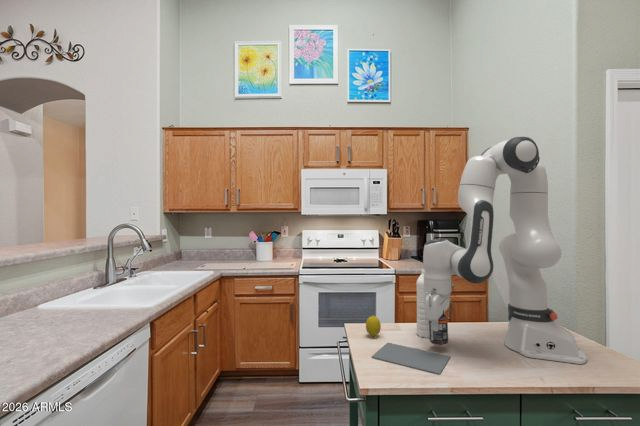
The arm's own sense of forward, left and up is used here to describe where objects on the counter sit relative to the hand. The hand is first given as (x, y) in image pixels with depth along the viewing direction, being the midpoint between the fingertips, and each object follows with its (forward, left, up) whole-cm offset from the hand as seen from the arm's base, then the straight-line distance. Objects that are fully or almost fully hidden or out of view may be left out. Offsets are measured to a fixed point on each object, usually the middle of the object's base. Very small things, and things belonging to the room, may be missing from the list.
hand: (438, 327), depth 110 cm
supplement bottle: (0, 0, -5) cm, 5 cm away
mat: (+6, +12, -7) cm, 15 cm away
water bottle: (+6, -12, -8) cm, 15 cm away
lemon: (+23, +1, -8) cm, 25 cm away
